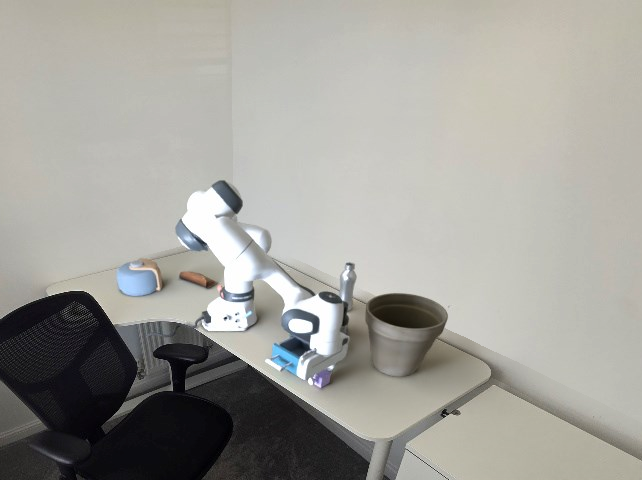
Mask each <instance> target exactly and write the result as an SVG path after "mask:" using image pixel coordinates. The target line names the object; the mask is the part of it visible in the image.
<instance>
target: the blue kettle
mask: <svg viewBox="0 0 642 480" xmlns="http://www.w3.org/2000/svg"><path fill="white" fill-rule="evenodd" d="M116 270H117V271H116V273H115V274H116V277H115V278H116V283H117V287H118V289H119V290H120V291H121V292H122V294H124V295H127V296H132V297H133V296H134V297H140V296H146V295H149V294H153V293H155V292H156V291H161V290H162V289H163V287H164V286H163V280H162V272H161V269H160V267H159V266H158V263H157V262H156V261H154V260H152V259H150V258H143V257H140V258H138V259H136V260H133V261H129V262H126V263H124V264H122V265H120V266H119V267H118V269H116Z"/></svg>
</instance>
